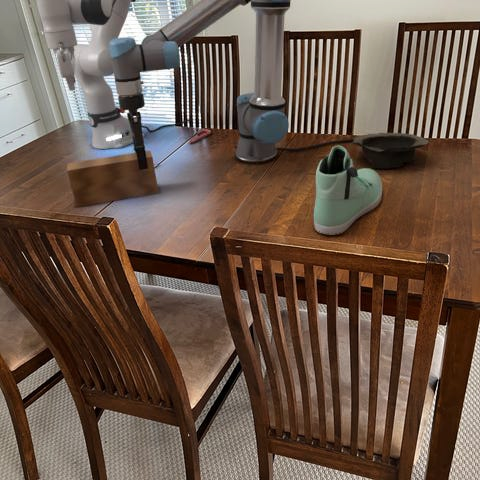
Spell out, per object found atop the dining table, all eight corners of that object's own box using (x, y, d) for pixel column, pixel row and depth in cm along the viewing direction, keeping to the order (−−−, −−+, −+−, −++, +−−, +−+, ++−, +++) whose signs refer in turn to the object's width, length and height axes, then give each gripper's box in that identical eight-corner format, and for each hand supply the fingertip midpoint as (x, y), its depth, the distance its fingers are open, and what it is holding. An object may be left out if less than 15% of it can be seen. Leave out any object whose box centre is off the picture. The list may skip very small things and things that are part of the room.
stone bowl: (386, 179, 152) (387, 151, 148) (337, 161, 173) (337, 136, 168) (443, 160, 161) (445, 133, 157) (390, 145, 182) (391, 120, 177)
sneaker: (389, 187, 148) (396, 123, 138) (356, 242, 123) (361, 168, 112) (346, 181, 154) (350, 119, 144) (306, 232, 129) (307, 161, 118)
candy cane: (180, 142, 197) (179, 139, 196) (203, 131, 207) (202, 127, 206) (191, 144, 194) (191, 141, 193) (214, 133, 204) (213, 129, 203)
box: (76, 207, 152) (66, 170, 146) (77, 199, 157) (67, 163, 151) (158, 192, 157) (152, 156, 151) (156, 185, 162) (150, 150, 156)
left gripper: (71, 44, 139) (82, 92, 146) (73, 35, 156) (83, 78, 163) (48, 46, 138) (61, 95, 145) (52, 37, 155) (63, 81, 162)
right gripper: (147, 103, 133) (158, 173, 144) (139, 83, 154) (149, 146, 165) (119, 106, 132) (132, 177, 143) (115, 86, 152) (127, 149, 163)
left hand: (72, 86), depth 154 cm, fingers open, 8 cm apart
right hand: (141, 161), depth 154 cm, fingers open, 13 cm apart
